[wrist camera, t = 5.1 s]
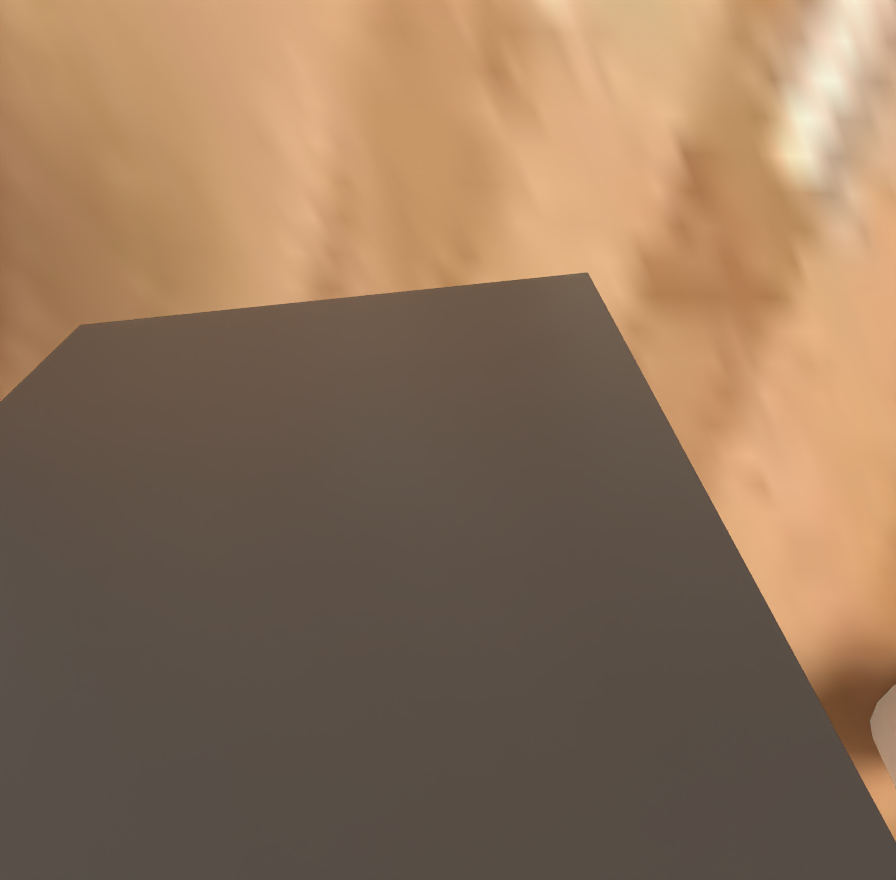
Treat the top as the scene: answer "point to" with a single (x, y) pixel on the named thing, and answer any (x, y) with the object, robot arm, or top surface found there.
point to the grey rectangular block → (391, 612)
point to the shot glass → (886, 730)
